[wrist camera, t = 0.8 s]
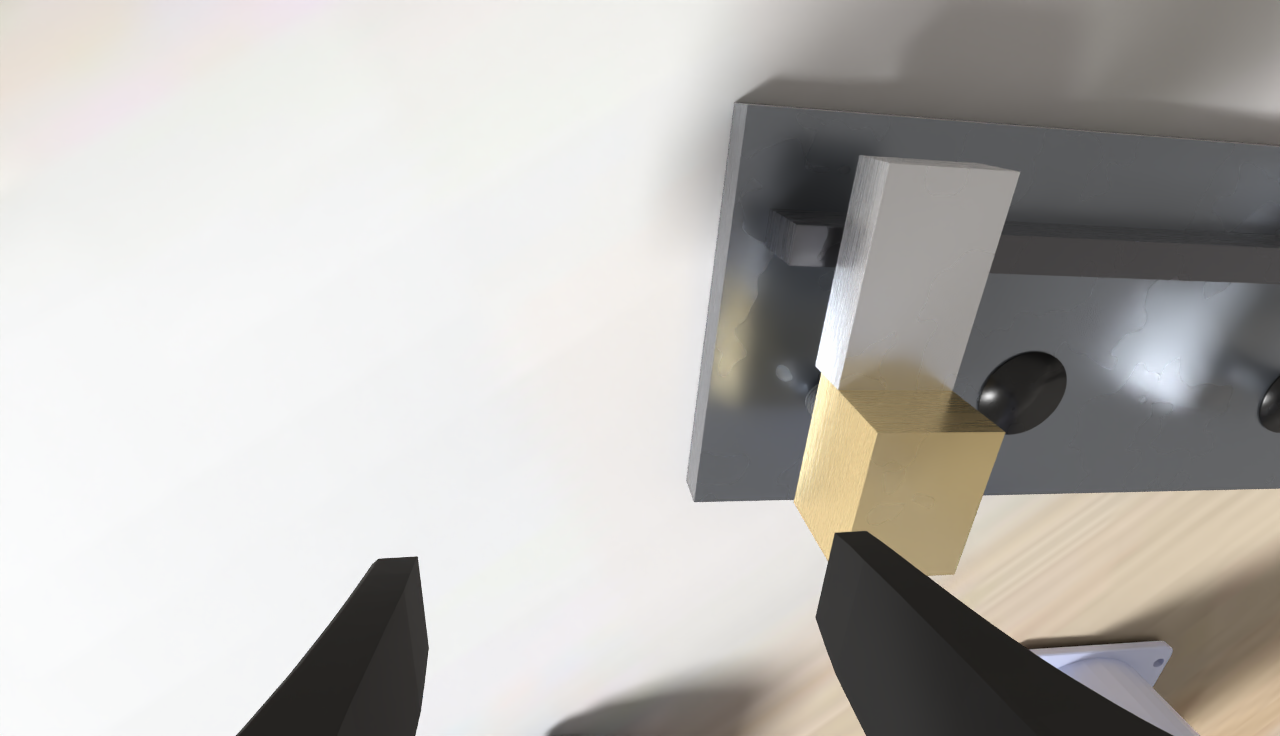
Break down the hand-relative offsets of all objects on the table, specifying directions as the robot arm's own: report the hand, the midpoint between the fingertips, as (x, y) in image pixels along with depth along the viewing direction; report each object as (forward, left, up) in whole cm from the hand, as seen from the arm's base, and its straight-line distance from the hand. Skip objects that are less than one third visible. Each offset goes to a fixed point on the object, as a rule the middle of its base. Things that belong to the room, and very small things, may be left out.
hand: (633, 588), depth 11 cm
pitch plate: (+2, -16, -9) cm, 19 cm away
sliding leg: (+2, -7, -8) cm, 11 cm away
